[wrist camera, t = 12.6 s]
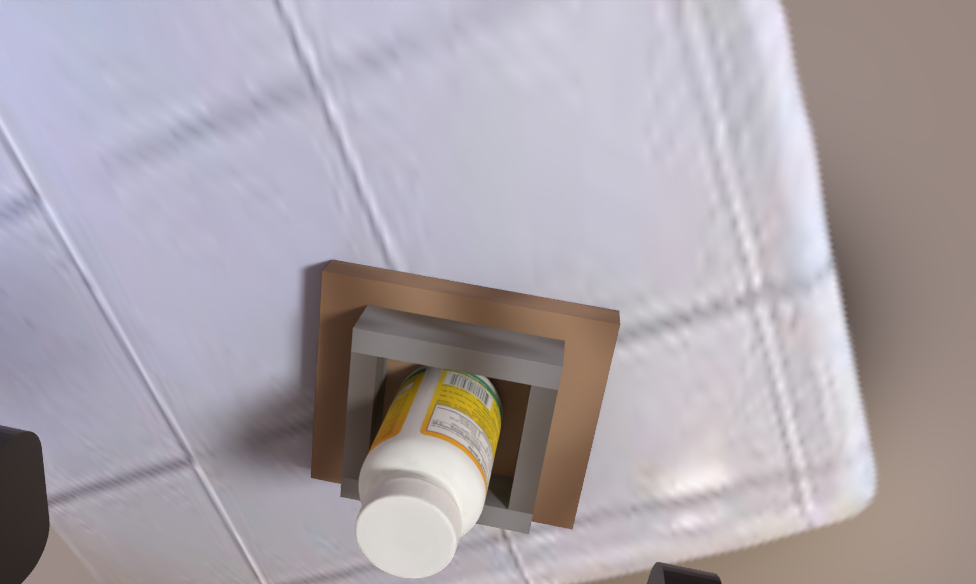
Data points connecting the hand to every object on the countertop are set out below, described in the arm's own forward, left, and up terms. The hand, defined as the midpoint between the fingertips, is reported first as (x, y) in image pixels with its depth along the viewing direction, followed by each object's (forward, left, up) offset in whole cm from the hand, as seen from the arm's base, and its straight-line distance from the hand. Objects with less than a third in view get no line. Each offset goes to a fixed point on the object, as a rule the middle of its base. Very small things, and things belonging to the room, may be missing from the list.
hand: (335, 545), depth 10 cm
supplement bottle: (-1, -14, -25) cm, 29 cm away
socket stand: (-1, -14, -26) cm, 30 cm away
